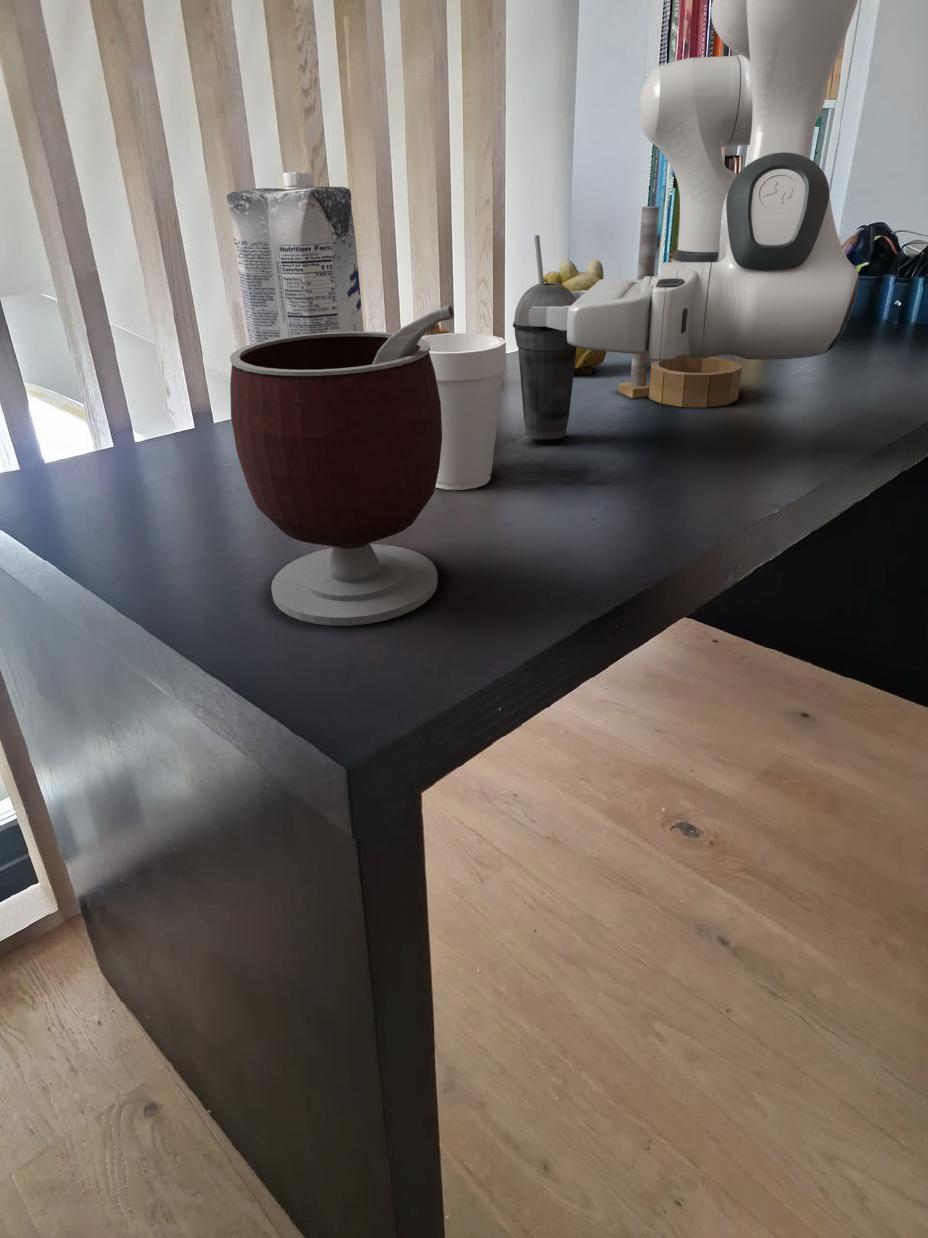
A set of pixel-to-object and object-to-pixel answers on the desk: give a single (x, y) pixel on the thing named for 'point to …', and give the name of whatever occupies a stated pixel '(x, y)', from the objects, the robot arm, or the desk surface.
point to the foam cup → (467, 404)
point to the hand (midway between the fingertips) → (538, 308)
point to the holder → (678, 376)
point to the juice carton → (296, 259)
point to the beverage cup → (544, 360)
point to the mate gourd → (342, 463)
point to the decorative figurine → (580, 282)
